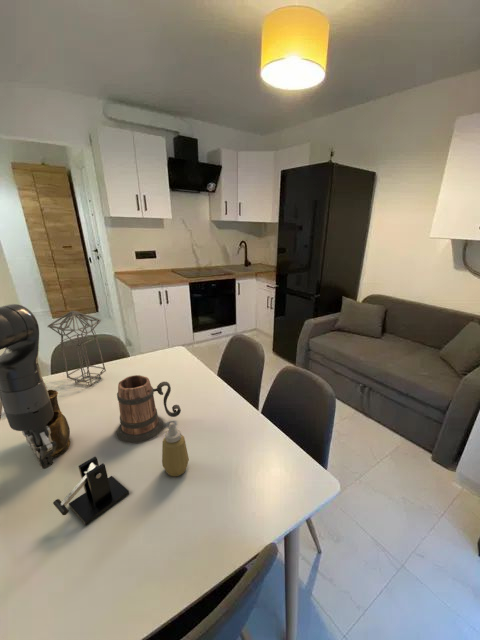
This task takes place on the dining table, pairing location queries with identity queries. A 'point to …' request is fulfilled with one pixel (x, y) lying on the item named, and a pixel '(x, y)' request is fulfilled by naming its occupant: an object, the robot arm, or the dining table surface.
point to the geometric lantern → (82, 316)
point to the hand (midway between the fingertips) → (47, 465)
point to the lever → (73, 492)
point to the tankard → (140, 409)
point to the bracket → (97, 492)
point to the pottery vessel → (58, 426)
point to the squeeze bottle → (174, 452)
